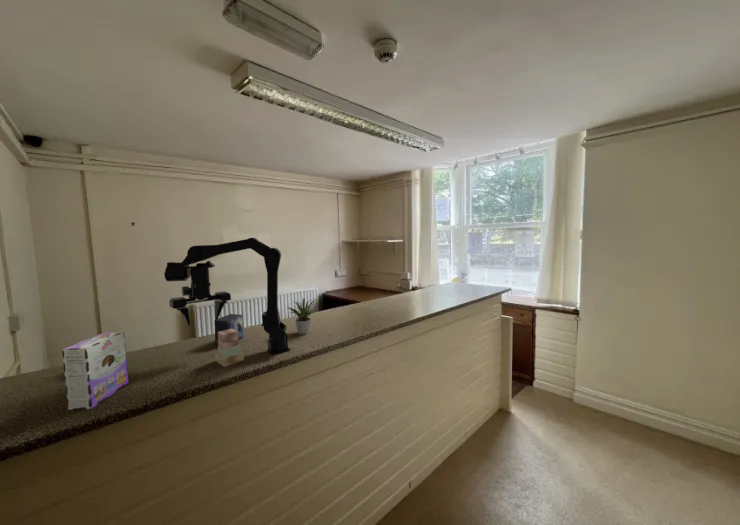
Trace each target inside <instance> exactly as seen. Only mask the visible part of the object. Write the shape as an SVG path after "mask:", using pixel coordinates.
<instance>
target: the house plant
mask: <svg viewBox="0 0 740 525" xmlns="http://www.w3.org/2000/svg"><path fill="white" fill-rule="evenodd" d="M301 299H302V303H300V302H298V300H296V299H295V301H294V300H292V302H293V303H290V302H289V304H290V305H292V306H294V304H295V305H296V306H297V309H296V308H295V309H294V308H292V307H290V306H286V308H287V309H289V310H290V311H291V312H289V314H295V315H296V316H297V318H296V319H295V325H296V329H297V330H296V331H297V334H298V333H299V334H298V335H308V334H309V333H310V332H311V331H310V330H311V322H312V318H311V317H309V316H310V315H313V314H314V312H316V310H314V309H311V308H312V307H313V304H314V303H315V301H317V300H318V298H316V299H314V300H311V299H310V300H307V301H306V300H305V297H302V298H301ZM310 301H311V302H310ZM305 302H306V303H305ZM309 302H310V303H309ZM313 311H314V312H313ZM307 333H308V334H307Z"/></svg>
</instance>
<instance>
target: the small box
mask: <svg viewBox="0 0 740 525" xmlns="http://www.w3.org/2000/svg"><path fill="white" fill-rule="evenodd" d="M243 318H244V316H243V314H235V313H229V314H227V315H223V316H221V317H218V320H215V319H214V344H215V345H217V346H218V332H220V331H224V330H229V329H234V330H236V331H238V341H240V340H242V339H244V321H243Z"/></svg>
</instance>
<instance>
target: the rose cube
mask: <svg viewBox="0 0 740 525" xmlns="http://www.w3.org/2000/svg"><path fill="white" fill-rule="evenodd" d="M218 345H219V346H220V347H221V348H223V349H226V348H230V347H234V346H237V345H240V343H239V340H238V331H236V330H234V329H229V330H224V331H220V332H218ZM218 345H217V346H218Z"/></svg>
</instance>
